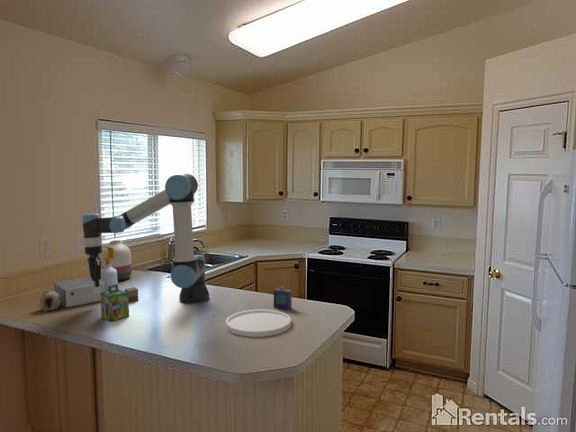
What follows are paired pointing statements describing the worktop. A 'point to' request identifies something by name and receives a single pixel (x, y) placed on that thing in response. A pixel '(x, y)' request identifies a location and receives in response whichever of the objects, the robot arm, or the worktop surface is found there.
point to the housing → (71, 286)
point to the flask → (282, 298)
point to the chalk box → (114, 304)
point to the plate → (258, 323)
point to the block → (132, 294)
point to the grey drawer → (83, 295)
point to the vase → (119, 259)
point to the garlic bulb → (50, 300)
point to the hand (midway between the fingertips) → (96, 292)
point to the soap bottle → (109, 271)
